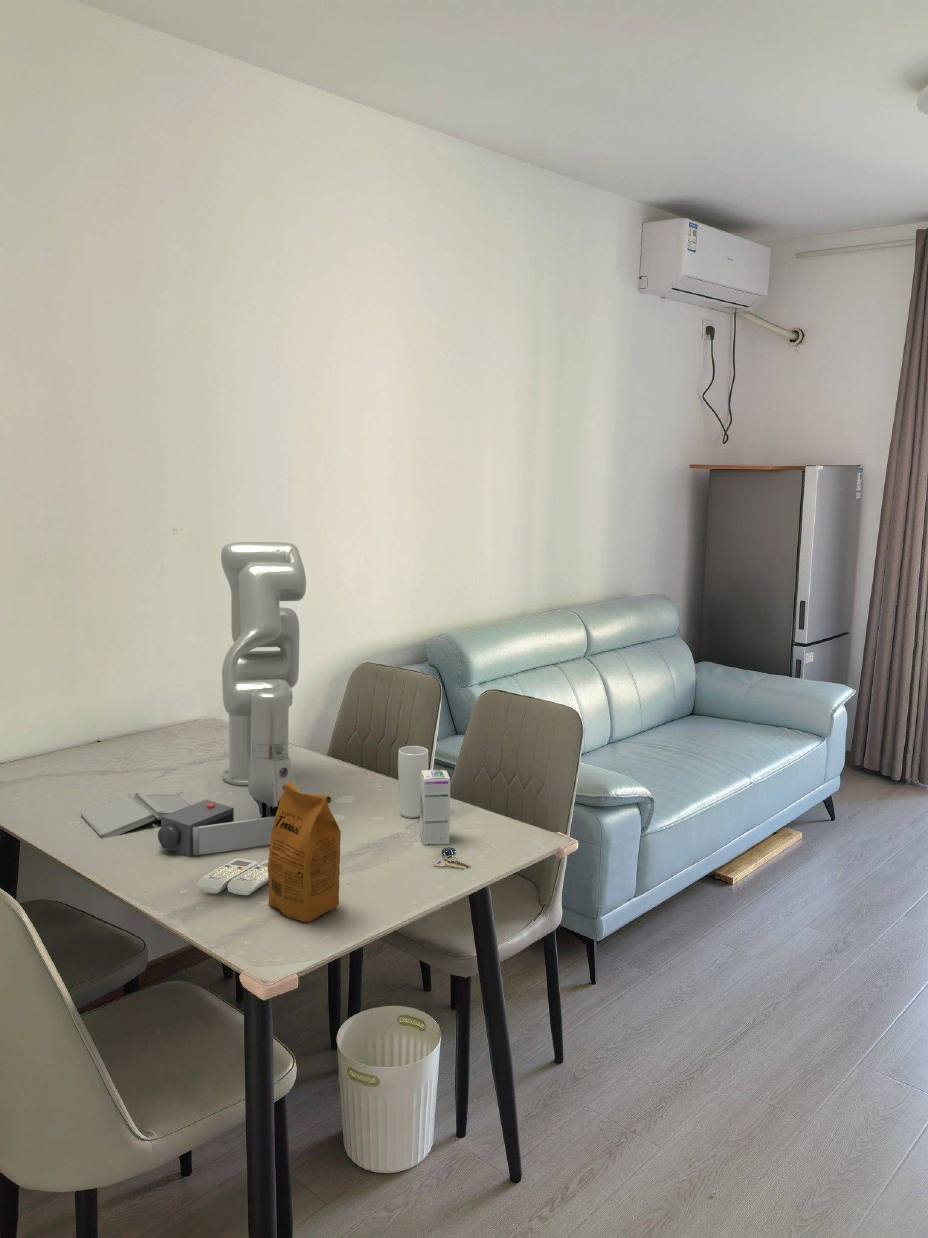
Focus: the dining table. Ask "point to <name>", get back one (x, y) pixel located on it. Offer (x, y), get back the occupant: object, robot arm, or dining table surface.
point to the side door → (232, 835)
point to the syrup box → (435, 807)
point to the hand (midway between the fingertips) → (269, 833)
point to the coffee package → (304, 856)
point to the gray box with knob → (191, 824)
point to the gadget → (133, 811)
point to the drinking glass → (411, 778)
